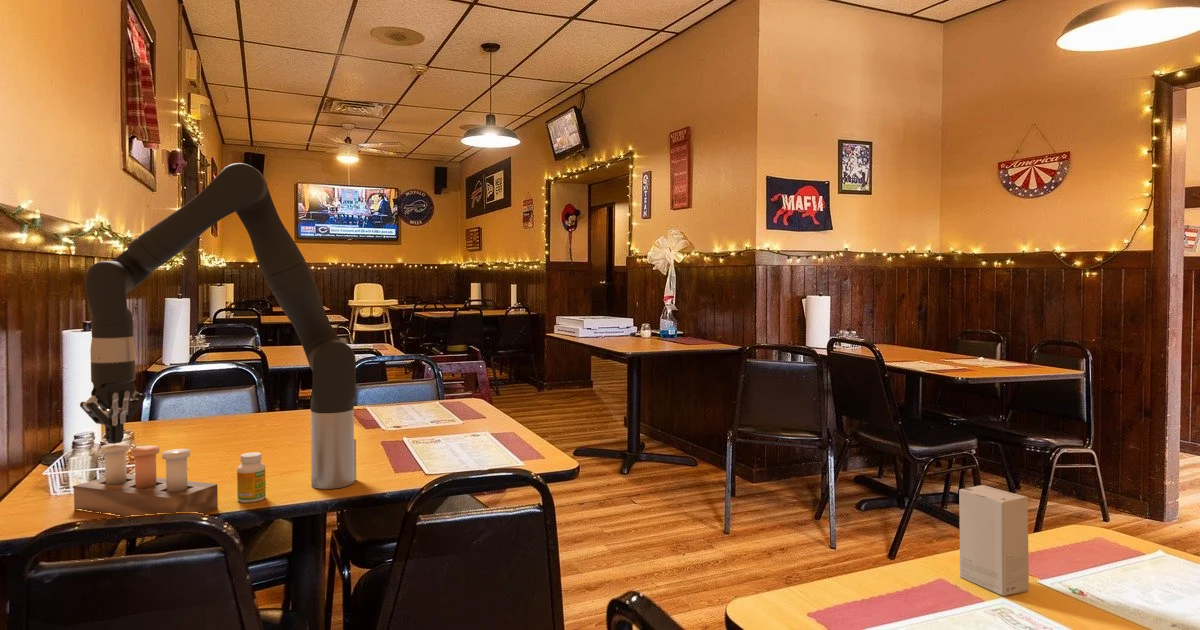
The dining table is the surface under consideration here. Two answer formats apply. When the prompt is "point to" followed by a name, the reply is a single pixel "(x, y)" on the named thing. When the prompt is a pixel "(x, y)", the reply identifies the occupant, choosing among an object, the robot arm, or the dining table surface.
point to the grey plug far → (115, 463)
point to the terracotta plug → (145, 466)
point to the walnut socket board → (144, 498)
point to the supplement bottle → (251, 478)
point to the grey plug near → (176, 469)
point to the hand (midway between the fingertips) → (114, 442)
